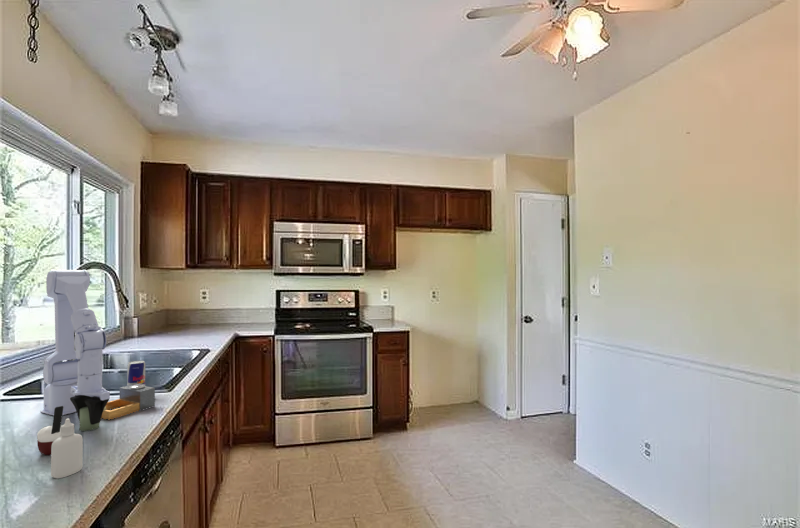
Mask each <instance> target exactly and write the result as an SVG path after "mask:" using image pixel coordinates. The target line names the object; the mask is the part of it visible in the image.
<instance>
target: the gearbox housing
mask: <svg viewBox="0 0 800 528" xmlns="http://www.w3.org/2000/svg"><path fill="white" fill-rule="evenodd" d="M155 389H156V387H152V386H147V385H146V384H145V385H144V384H133V385H129V386H127V385H126V386H122V387H121V386H120V387H119V398H118V399H115V400H114V399H113V400H111V401H110V400H109V401H108V402H107V404H106V406H105V407H106V410H104V411H103V413H102V416H101V419H102V418H103V420H106V419H108V420H107V421H111V420H113V419H114V418H115V419H117V417H118V418H121V417H123V416H128V415H130V413H131V414H134V413H137V412H140V411H139V410H141V411H144V410H143V409H145V410H147V409H146V408H148V409H150V408H149V407H151V408H153V407H152V406H154V407H155V402H156V401H155V400H156V393H155V392H156V390H155ZM118 407H120V408H118ZM114 408H115V409H114ZM110 409H112V410H110ZM136 411H137V412H136ZM133 412H134V413H133ZM127 414H128V415H127ZM110 419H111V420H110ZM115 419H114V420H115Z"/></svg>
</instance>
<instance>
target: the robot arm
mask: <svg viewBox="0 0 800 528" xmlns="http://www.w3.org/2000/svg"><path fill="white" fill-rule="evenodd" d="M45 280H46V283H45V285H46V294H47V297H48V298H51V299H53V303H54V332H55V333H54V337H55V341H54V342H55V348H54V349H55V351H54V352H53V353H51V354H50V355H49V356H47V357H46V358H45V359H44V362H43V363H44V364H43V370H42V377H43V381H44V383H45V384H46V386H45V388H44V391H43V409H41V410H40V411H39V412H40V413H42V414H47V415H50V416H53V417H54V410H55V408H56V407H60V406H63V414H62V416H65V415H69V414H72V413H76V414H77V418H78V421H79V422H80V409H81V408H83V407H88V410H89V417H90V423H91V425H93V424H97V423H99V424H100V423H101V420H102V418H101V416H102V413H103V410H104V408H105V406H106V404H107V402H109V401H110V395H111V392H110V391H109V390H106V388H104V387H103V350H105V348H106V346H107V335H106V331H105V329H103V328H102V327H101V326H99V323H98V320H97V317H96V315H95V311H94V310H92V309H90V308H89V306H88V299H87V295H86V294H87V293H86V292H87V291H88V288H89V286H90V283H91V277H90V273H89V271H88V270H87V269H82V270H80V269H78V270H77V269H76V270H75V269H62V270H61V269H57V270H56V269H55V270H54V269H50V270H49V271H48V272H47V275H46V279H45Z"/></svg>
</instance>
